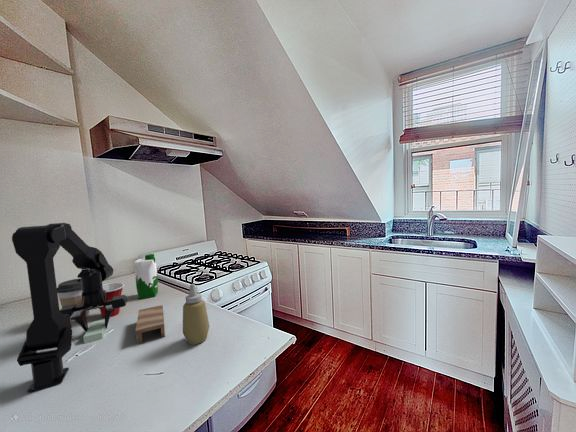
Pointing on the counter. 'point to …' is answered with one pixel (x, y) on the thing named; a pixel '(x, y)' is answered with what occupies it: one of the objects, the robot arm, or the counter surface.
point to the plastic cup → (111, 292)
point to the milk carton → (146, 277)
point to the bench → (149, 321)
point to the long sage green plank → (95, 331)
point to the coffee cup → (71, 294)
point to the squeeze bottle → (195, 318)
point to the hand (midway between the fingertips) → (97, 330)
